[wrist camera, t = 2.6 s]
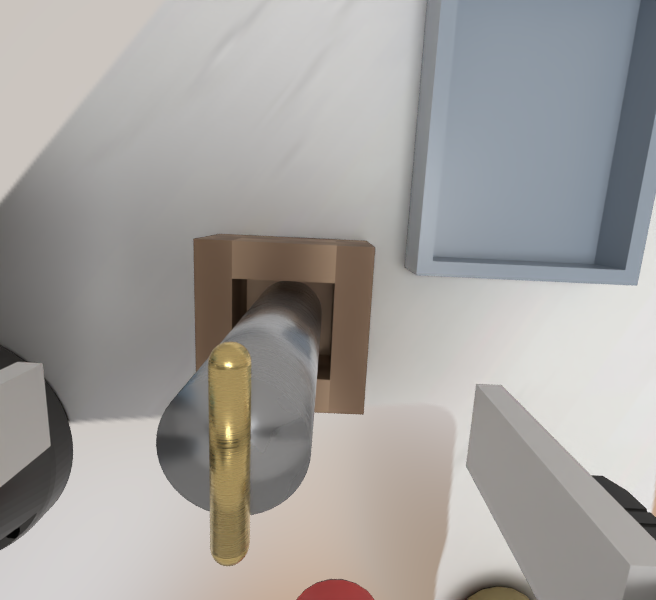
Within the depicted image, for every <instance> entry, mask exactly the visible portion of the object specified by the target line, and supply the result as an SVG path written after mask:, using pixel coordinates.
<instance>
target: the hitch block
mask: <svg viewBox="0 0 656 600" xmlns="http://www.w3.org/2000/svg"><path fill="white" fill-rule="evenodd" d="M374 256H375V247H374V246H373V245H371V244H370V243H368V242H367V241H358V240H337V239H316V238H295V237H274V236H253V235H232V234H216V235H211V236H206V237H200V238H195V239H194V293H195V346H196V372H197V371H198V369H199V368H200V367H201V366H202V365H203V363H204V362H205V361H206V360H207V359H208V357H209V356H210V354H211V352H212V350H213V349H214V348H215V347H216V346H218V345H219V344H220V343H221V342H222V341H223V340H224V338H225V337H226V336H227V335H228V334H229V332H230V331H231V330H232V329H233V328H234V327H235V325H236V324H237V323H238V322H239V321H240V319H241V318H242V317H243V316H244V315H245V313H246V312H247V311H248V310H249V309H250V307H251V306H252V305H253V304H254V303H255V302H256V300H257V299H258V298H259V297H260V296H261V294H262V293H263V292H264V291H265V290H266V289H267V288H268V287H269V286H271V285H273V284H274V283H277V282H280V281H296V282H301V283H303V284H305V285H307V286H308V287H310V288H311V289H312V290H313V291H314V292H315V294H316V295H317V297H318V298H319V300H320V303H321V307H322V321H321V333H320V346H319V358H318V371H317V383H316V396H315V408H314V412H317V413H341V414H363V413H364V400H365V385H366V371H367V357H368V342H369V328H370V314H371V299H372V285H373V270H374Z"/></svg>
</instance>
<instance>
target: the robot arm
mask: <svg viewBox="0 0 656 600" xmlns="http://www.w3.org/2000/svg"><path fill="white" fill-rule="evenodd" d="M72 460H73V442H72V435H71V430H70V426H69V423H68V420H67V417H66V414H65V412H64V410H63V408H62V406H61V404H60V402H59V400H58V398H57V397H56V395H55V394H54V392H53V391H52V389H51V388H50V387H49V385H48V384H47V383H46V382H45V380H44V371H43V363H30V362H25V361H23V360H22V359H21V358H19V357H18V356H16V355H15V354H13V353H12V352H10V351H8V350H7V349H5V348H3V347H1V346H0V550H1V549H3V548H5V547H7V546H8V545H10V544H12V543H13V542H15V541H16V540H17V539H19V538H20V537H21V536H23V535H24V534H25V533H26V532H27V531H29V530H30V529H31V528H32V527H33V526H34V525H35V524H36V523H37V522H38V520H40V518H41V517H42V516H43V515H44V514H45V513H46V512H47V511H48V510H49V509H50V508H51V507H52V506H53V505H54V503H55V502H56V501H57V500H58V498H59V497H60V495H61V494H62V492H63V490H64V488H65V486H66V484H67V481H68V479H69V475H70V472H71V467H72ZM466 467H467V469H468V471H469V472H470V474H471V476H472V478H473V480H474V482H475V484H476V486H477V488H478V489H479V491H480V493H481V495H482V497H483V499H484V501H485V503H486V504H487V506H488V508H489V510H490V512H491V514H492V516H493V518H494V520H495V521H496V523H497V525H498V527H499V529H500V531H501V533H502V535H503V536H504V538H505V540H506V542H507V544H508V546H509V548H510V550H511V552H512V553H513V555H514V557H515V559H516V561H517V563H518V565H519V567H520V568H521V570H522V572H523V574H524V576H525V578H526V580H527V582H528V584H529V585H530V587H531V589H532V591H533V593H534V595H535V597H536V599H537V600H656V517H655V516H654V515H652V514H651V513H649V512H647V509H646V508H645V507H644V506H643V505H642V504H641V503H640V502H639V501H638V500H636V499H635V498H634V497H633V496H632V495H631V494H630V493H629V492H628V491H626V490H625V489H623V488H622V487H620V486H618V485H617V484H615V483H613V482H612V481H610V480H609V479H607V478H605V477H604V476H593V475H590V474H589V473H588V472H587V471H586V470H585V469H584V468H583V467H582V466H581V465H580V464H579V463H578V462H577V461H576V460H575V459H574V458H573V457H572V456H571V455H570V454H569V453H568V452H567V451H566V450H565V449H564V448H563V447H562V446H561V445H560V444H559V442H558V441H557V440H556V439H555V438H554V437H553V436H552V435H551V434H550V433H549V432H548V431H547V430H546V429H545V428H544V427H543V426H542V425H541V424H540V423H539V422H538V421H537V420H536V419H535V418H534V417H533V416H532V415H531V414H530V413H529V412H528V411H527V410H526V409H525V408H524V407H523V406H522V405H521V404H520V403H519V402H518V401H517V400H516V399H515V398H514V397H513V396H512V395H511V394H510V393H509V392H508V391H507V390H506V389H505V388H504V387H503V386H502V385H487V384H476V391H475V399H474V407H473V415H472V422H471V430H470V438H469V446H468V454H467V462H466Z"/></svg>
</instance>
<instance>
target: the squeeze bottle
mask: <svg viewBox="0 0 656 600" xmlns="http://www.w3.org/2000/svg"><path fill="white" fill-rule="evenodd" d="M467 600H530V599H529V598H528V597H527V596H526V595H524V594H522V593H520V592H519V591H517V590H515V589H513V588H505V587H493V588H488V589H483V590H481V591H479V592H477V593H475V594H474V595H472V596H470V597H469V598H468V599H467Z"/></svg>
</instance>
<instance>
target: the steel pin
mask: <svg viewBox="0 0 656 600" xmlns="http://www.w3.org/2000/svg"><path fill="white" fill-rule="evenodd" d="M321 321H322V307H321V303H320V300H319V298H318V297H317V295H316V294H315V292H314V291H313V290H312V289H311V288H310V287H308V286H307V285H305V284H303V283H301V282H296V281H280V282H277V283H274V284H273V285H271V286H269V287H268V288H267V289H266V290H265V291H264V292H263V293H262V294H261V296H260V297H259V298H258V299H257V300H256V302H255V303H254V304H253V305H252V306H251V307H250V309H249V310H248V311H247V312H246V313H245V315H244V316H243V317H242V318H241V319H240V321H239V322H238V323H237V324H236V325H235V327H234V328H233V329H232V330H231V331H230V332H229V334H228V335H227V336H226V337H225V338H224V340H223V341H222V342H221V343H220V344H219V345H218V346H216V347H215V348H214V349H213V350H212V352H211V354H210V356H209V357H208V359H207V360H206V361H205V362H204V363H203V365H202V366H201V367H200V368H199V369H198V371H197V372H196V373H195V374H194V375H193V376H192V378H191V379H190V380H189V381H188V382H187V384H186V385H185V386H184V387H183V388H182V390H181V391H180V392H179V393H178V394H177V396H176V397H175V398H174V399H173V400H172V401H171V403H170V404H169V406H168V407H167V408H166V410H165V412H164V414H163V416H162V418H161V420H160V423H159V426H158V431H157V439H156V447H157V455H158V458H159V463H160V465H161V468H162V470H163V472H164V474H165V476H166V478H167V479H168V481H169V482H170V483H171V485H172V486H173V487H174V488H175V489H176V490H177V491H178V492H179V493H180V495H182V496H183V497H184V498H185V499H187V500H188V501H190V502H191V503H193V504H195V505H196V506H198V507H200V508H202V509H204V510H207V511H210V549H211V554H212V556H213V558H214V560H215V561H216V562H217V563H219V564H220V565H223V566H233V565H236V564H237V563H238V562H240V561H241V560H242V559H243V558H244V557H245V555H246V553H247V551H248V549H249V543H250V515H254V514H258V513H262V512H264V511H267V510H270V509H272V508H274V507H276V506H277V505H279V504H281V503H282V502H284V501H285V500H286V499H288V498H289V497H290V496H291V495H292V494H293V493H294V492H295V491H296V489H297V488H298V487H299V486H300V484H301V482H302V481H303V479H304V477H305V475H306V473H307V470H308V467H309V463H310V456H311V446H312V433H313V421H314V408H315V396H316V383H317V371H318V358H319V346H320V333H321Z"/></svg>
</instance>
